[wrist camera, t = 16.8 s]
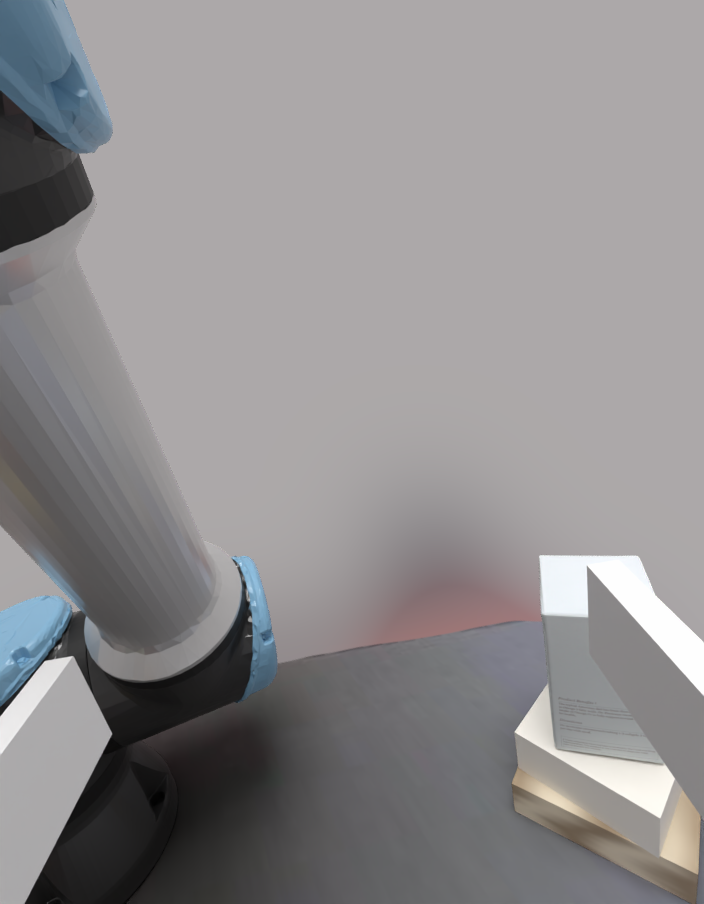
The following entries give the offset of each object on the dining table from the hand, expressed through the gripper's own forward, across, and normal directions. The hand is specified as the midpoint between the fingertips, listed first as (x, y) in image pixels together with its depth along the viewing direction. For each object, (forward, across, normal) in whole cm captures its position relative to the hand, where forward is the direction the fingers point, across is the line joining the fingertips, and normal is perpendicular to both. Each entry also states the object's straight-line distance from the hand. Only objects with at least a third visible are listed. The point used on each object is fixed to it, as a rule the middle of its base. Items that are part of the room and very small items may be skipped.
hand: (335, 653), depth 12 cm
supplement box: (+18, +16, -27) cm, 36 cm away
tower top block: (+17, +16, -31) cm, 39 cm away
